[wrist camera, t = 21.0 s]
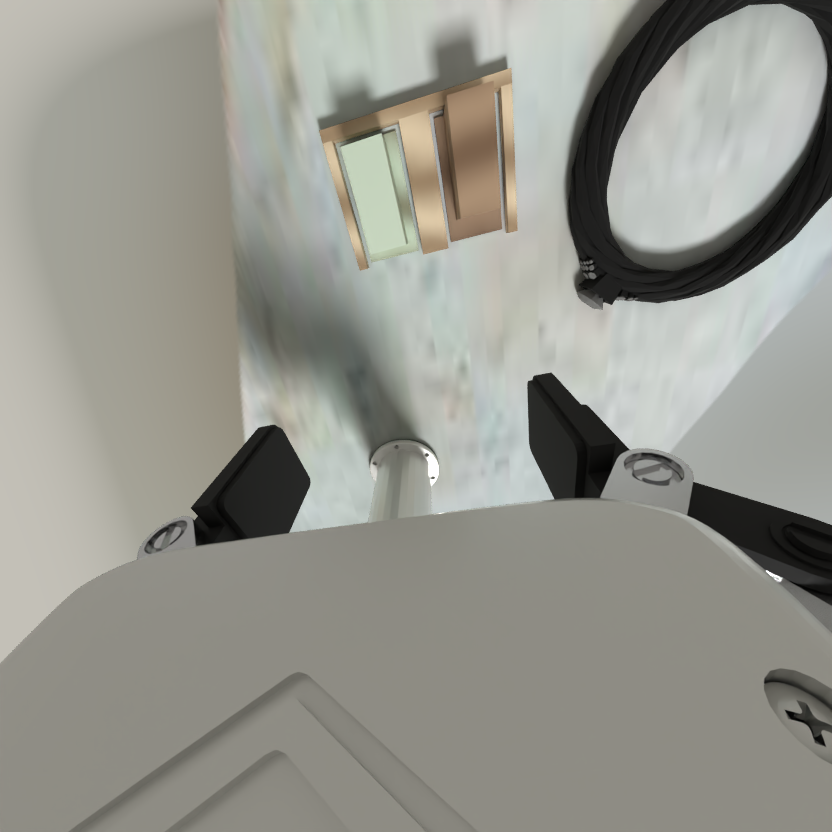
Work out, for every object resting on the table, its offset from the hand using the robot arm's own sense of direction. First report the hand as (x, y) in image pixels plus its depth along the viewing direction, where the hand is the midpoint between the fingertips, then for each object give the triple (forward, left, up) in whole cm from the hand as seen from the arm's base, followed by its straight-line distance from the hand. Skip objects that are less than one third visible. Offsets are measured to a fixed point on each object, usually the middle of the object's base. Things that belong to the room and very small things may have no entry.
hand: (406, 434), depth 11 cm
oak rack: (+10, -3, -32) cm, 34 cm away
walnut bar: (+11, -8, -32) cm, 35 cm away
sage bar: (+10, +2, -32) cm, 34 cm away
